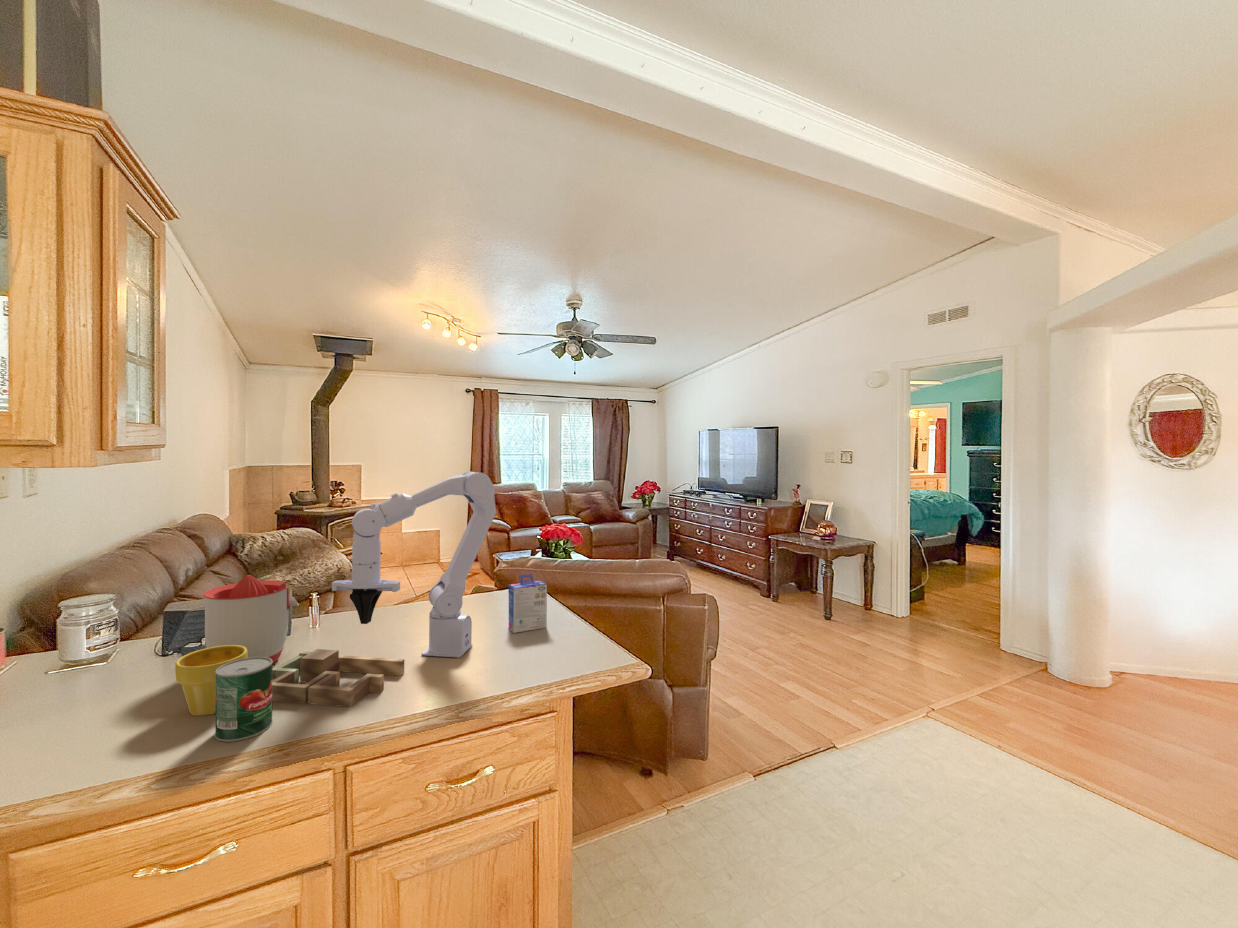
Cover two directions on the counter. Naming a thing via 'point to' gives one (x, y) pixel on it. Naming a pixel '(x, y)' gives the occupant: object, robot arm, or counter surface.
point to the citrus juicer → (249, 616)
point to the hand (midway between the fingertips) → (365, 622)
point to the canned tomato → (243, 698)
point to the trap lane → (332, 681)
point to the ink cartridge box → (527, 605)
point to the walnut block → (318, 663)
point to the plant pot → (204, 675)
